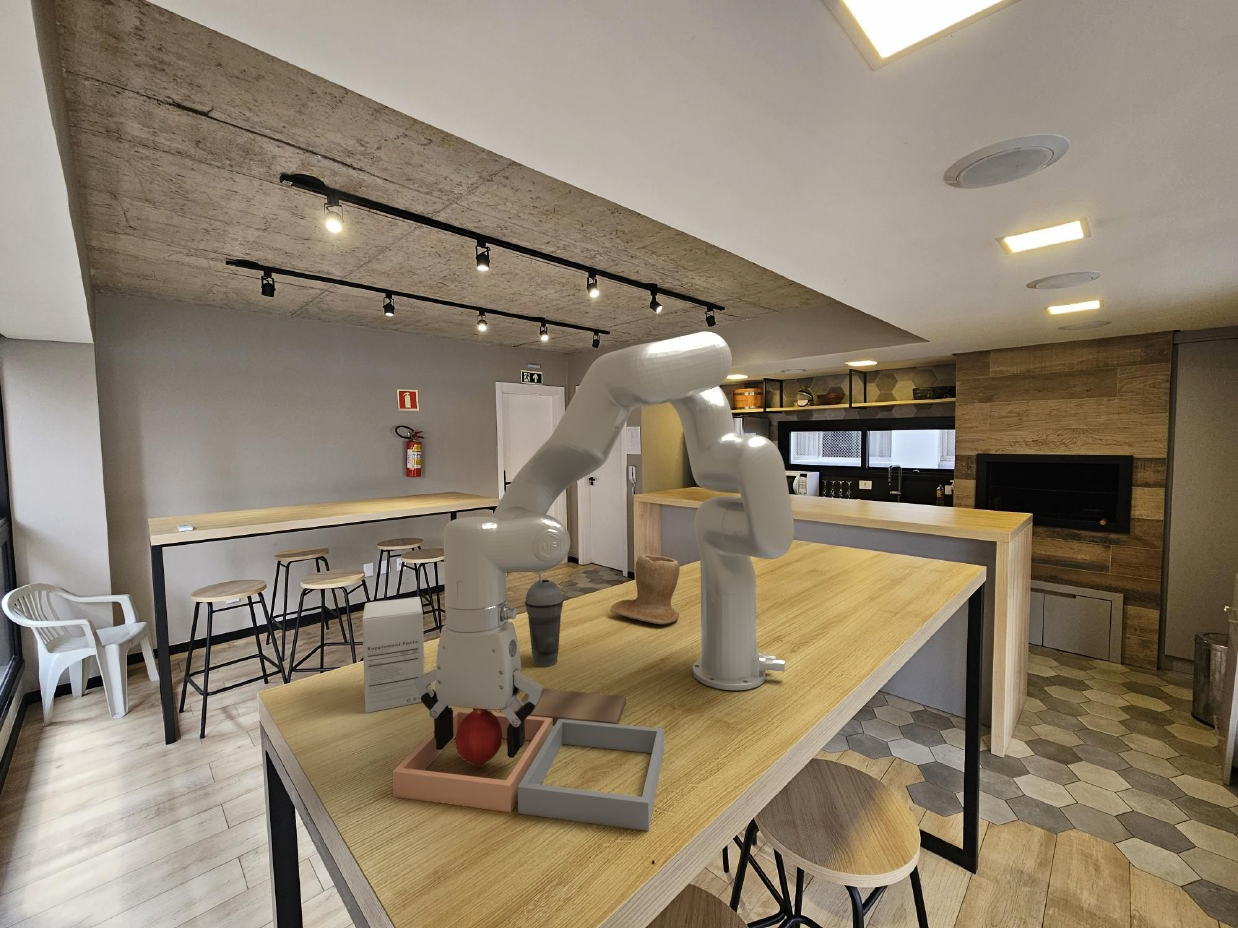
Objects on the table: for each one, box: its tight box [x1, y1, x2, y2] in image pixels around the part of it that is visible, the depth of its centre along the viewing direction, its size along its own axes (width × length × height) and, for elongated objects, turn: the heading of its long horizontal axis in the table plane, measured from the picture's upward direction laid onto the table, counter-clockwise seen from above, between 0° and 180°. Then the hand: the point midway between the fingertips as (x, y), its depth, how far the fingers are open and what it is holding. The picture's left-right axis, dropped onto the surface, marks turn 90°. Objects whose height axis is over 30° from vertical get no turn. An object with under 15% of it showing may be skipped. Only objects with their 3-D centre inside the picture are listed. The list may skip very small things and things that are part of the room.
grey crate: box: [517, 719, 665, 832], centre depth 63 cm, size 15×15×3 cm
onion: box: [455, 708, 503, 768], centre depth 66 cm, size 6×6×8 cm
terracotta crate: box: [392, 708, 554, 813], centre depth 66 cm, size 15×15×3 cm
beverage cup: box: [524, 572, 565, 668], centre depth 98 cm, size 7×7×20 cm
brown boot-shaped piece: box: [609, 554, 681, 625], centre depth 122 cm, size 15×12×15 cm
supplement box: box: [361, 596, 425, 714], centre depth 85 cm, size 9×9×15 cm
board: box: [520, 688, 627, 726], centre depth 79 cm, size 16×8×1 cm, turn 79°
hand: (479, 747), depth 66 cm, fingers open, 9 cm apart
